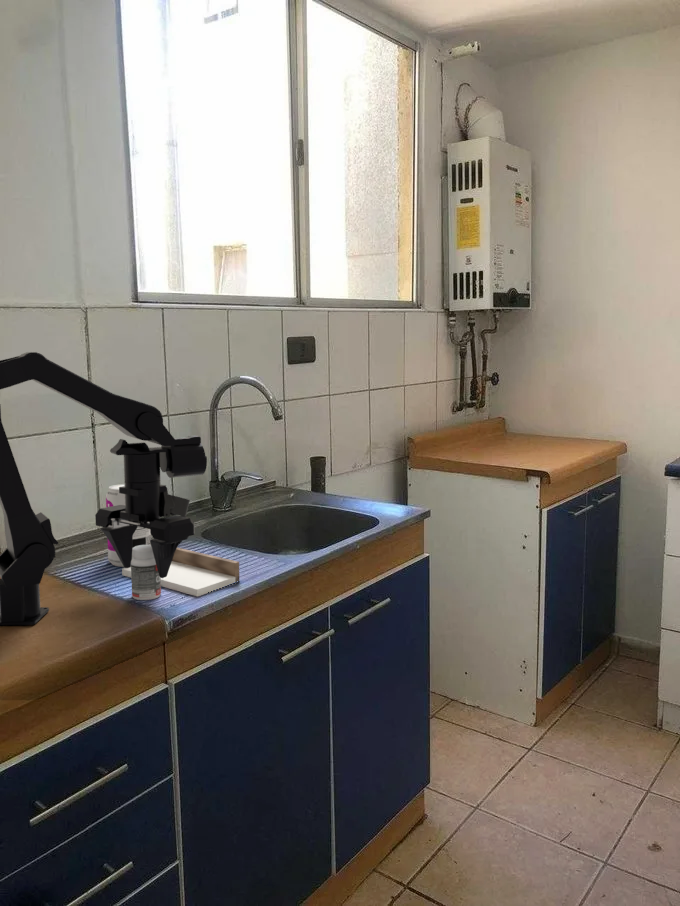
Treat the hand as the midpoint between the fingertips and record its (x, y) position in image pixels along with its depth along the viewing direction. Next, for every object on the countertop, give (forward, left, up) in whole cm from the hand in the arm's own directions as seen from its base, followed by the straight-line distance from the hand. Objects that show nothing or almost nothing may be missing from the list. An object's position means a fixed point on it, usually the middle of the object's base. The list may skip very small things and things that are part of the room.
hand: (145, 572), depth 121 cm
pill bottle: (0, 0, -4) cm, 4 cm away
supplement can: (+21, +8, -4) cm, 23 cm away
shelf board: (+10, -4, -4) cm, 11 cm away
